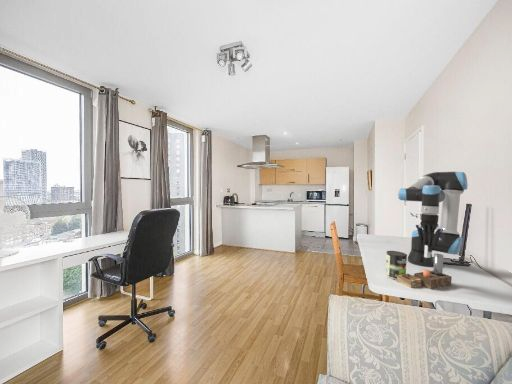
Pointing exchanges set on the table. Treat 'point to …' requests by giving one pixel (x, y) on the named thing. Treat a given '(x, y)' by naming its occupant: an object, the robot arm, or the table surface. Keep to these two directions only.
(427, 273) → the button
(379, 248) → the table surface
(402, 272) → the coffee can
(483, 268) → the table surface
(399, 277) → the open wooden tray
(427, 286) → the socket block
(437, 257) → the peg
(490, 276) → the table surface
